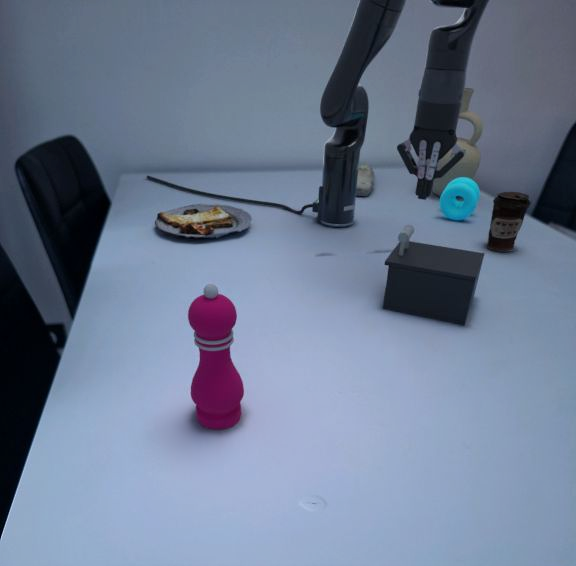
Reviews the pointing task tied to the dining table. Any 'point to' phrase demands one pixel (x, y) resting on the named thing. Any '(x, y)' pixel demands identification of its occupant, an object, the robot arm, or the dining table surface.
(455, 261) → the lid
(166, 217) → the food plate
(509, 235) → the coffee cup
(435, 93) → the robot arm
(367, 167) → the long grey stone
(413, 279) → the dark hinged chest
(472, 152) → the vase
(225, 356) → the pepper mill
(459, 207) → the donuts
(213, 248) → the dining table surface
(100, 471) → the dining table surface
